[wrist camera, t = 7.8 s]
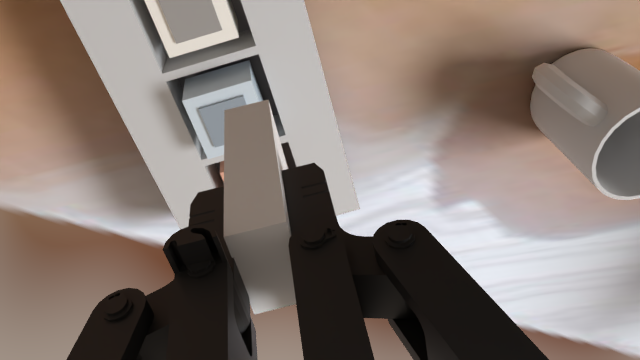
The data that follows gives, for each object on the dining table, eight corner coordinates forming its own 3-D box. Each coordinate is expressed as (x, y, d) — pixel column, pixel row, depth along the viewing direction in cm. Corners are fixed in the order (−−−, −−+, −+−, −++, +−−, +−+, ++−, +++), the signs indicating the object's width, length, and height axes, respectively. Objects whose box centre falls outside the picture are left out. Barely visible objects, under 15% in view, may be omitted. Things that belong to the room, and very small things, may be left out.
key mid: (185, 79, 33) (181, 102, 30) (249, 59, 33) (251, 81, 30) (209, 134, 35) (207, 160, 33) (269, 117, 35) (272, 141, 33)
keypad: (67, -51, 32) (44, -30, 27) (269, -113, 31) (276, -101, 27) (197, 214, 43) (194, 256, 39) (346, 170, 43) (360, 208, 38)
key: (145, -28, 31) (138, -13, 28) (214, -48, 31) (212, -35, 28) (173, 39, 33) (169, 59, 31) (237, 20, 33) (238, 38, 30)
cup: (570, 148, 45) (638, 215, 37) (481, 93, 41) (537, 155, 33) (639, 74, 42) (728, 131, 34) (550, 7, 38) (629, 55, 30)
